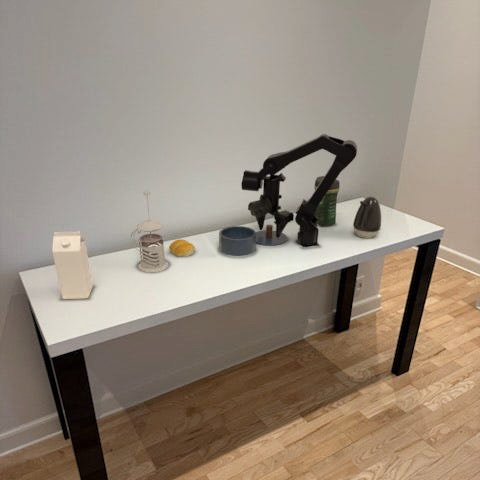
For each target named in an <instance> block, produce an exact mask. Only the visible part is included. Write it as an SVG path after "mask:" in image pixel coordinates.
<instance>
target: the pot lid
mask: <svg viewBox="0 0 480 480" xmlns="http://www.w3.org/2000/svg"><path fill="white" fill-rule="evenodd" d="M273 229H274V226H273V224H266V225H265V229H264V230H263V229H262V230H257V231H255V232H256V245H258V246H259V245H260V246H265V247H266V246H267V247H275V246H281V245H284V244H285V243H287V242H288V238H289V237H288V236H287V234H285V233H284V232H282V233H281V235H280V237H278V238H277V237H276V230H273Z"/></svg>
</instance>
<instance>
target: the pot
mask: <svg viewBox="0 0 480 480" xmlns="http://www.w3.org/2000/svg"><path fill="white" fill-rule="evenodd" d="M256 232H257V231H256V230H255V229H253V228H251V227H247V226H243V225H232V226H227V227H224V228H222V229H220V230H219V232H218V250H219V252H221V253H223V255H227V256H232V257H244V256H248V255H249V256H250V255H251V254H254V253H255V252H256V249H257V248H256V245H257V244H256Z"/></svg>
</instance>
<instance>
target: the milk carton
mask: <svg viewBox="0 0 480 480" xmlns="http://www.w3.org/2000/svg"><path fill="white" fill-rule="evenodd" d="M52 234H53V240H52V249H51V252H52V257H53V262H54V266H55V270H56V275H57V281H58V284H59V289H60V294H61V298H62V300H74V299H75V300H76V299H77V300H78V299H81V300H83V299H88V298H89V297H90V294H91V292H92V290H93V287H94V285H93V284H94V283H93V278H92V273H91V267H90V262H89V256H88V255H89V254H88V249H87V243H86V240H85V238H84V237H83V236H82V235H81V231H54V232H52Z"/></svg>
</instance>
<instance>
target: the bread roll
mask: <svg viewBox="0 0 480 480" xmlns="http://www.w3.org/2000/svg"><path fill="white" fill-rule="evenodd" d="M168 250H169V251H170V253H172V255H175V256H176V257H179V258H182V257H184V258H185V257H190V256H191V255H194V254H195V251H196V247H195V245H194V244H193V243H191V242H189V241H188V240H186V239H181V238H180V239H175V240H174V241H173V242H171V243H170V244H169V247H168Z"/></svg>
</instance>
